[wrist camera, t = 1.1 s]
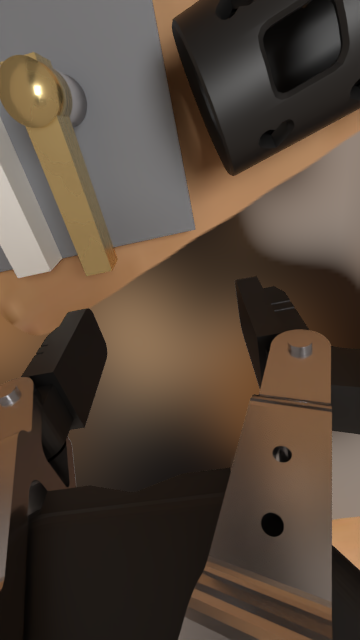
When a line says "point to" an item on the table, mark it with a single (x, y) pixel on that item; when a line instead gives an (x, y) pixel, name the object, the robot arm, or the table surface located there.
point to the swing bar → (58, 152)
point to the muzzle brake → (269, 71)
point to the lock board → (93, 129)
